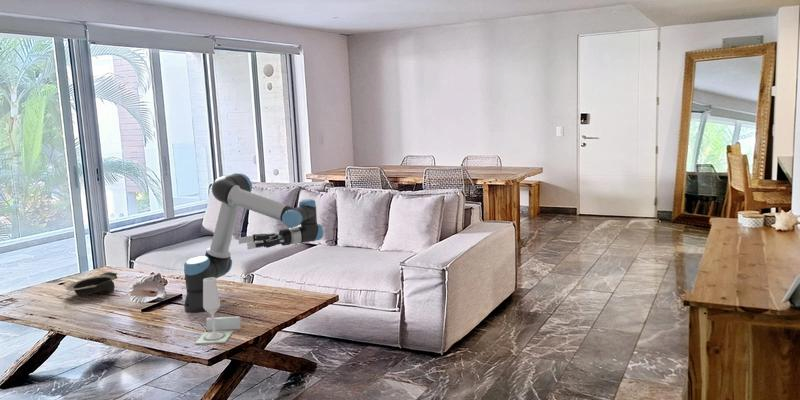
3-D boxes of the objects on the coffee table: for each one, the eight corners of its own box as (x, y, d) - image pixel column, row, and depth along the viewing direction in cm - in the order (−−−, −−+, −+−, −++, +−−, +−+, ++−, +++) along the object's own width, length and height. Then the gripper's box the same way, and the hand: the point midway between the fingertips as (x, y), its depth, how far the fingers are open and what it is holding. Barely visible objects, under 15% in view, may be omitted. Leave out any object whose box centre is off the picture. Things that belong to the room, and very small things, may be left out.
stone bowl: (129, 289, 326) (126, 272, 324) (85, 306, 306) (81, 289, 304) (103, 283, 339) (99, 267, 337) (58, 299, 319) (55, 283, 317)
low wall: (207, 330, 256) (205, 319, 255) (208, 329, 258) (207, 318, 257) (240, 328, 256) (239, 317, 255) (241, 327, 258) (240, 316, 257)
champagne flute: (209, 333, 250) (204, 277, 247) (225, 333, 250) (220, 276, 246) (203, 339, 244) (198, 281, 240) (220, 339, 243) (214, 281, 240)
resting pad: (195, 344, 241) (194, 342, 241) (204, 333, 253) (204, 331, 253) (225, 342, 241) (225, 341, 241) (233, 331, 253) (233, 330, 253)
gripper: (300, 249, 265) (252, 257, 255) (280, 239, 286) (235, 246, 276) (298, 232, 264) (250, 239, 253) (279, 224, 285) (234, 230, 275)
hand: (242, 243), depth 265 cm, fingers open, 13 cm apart
